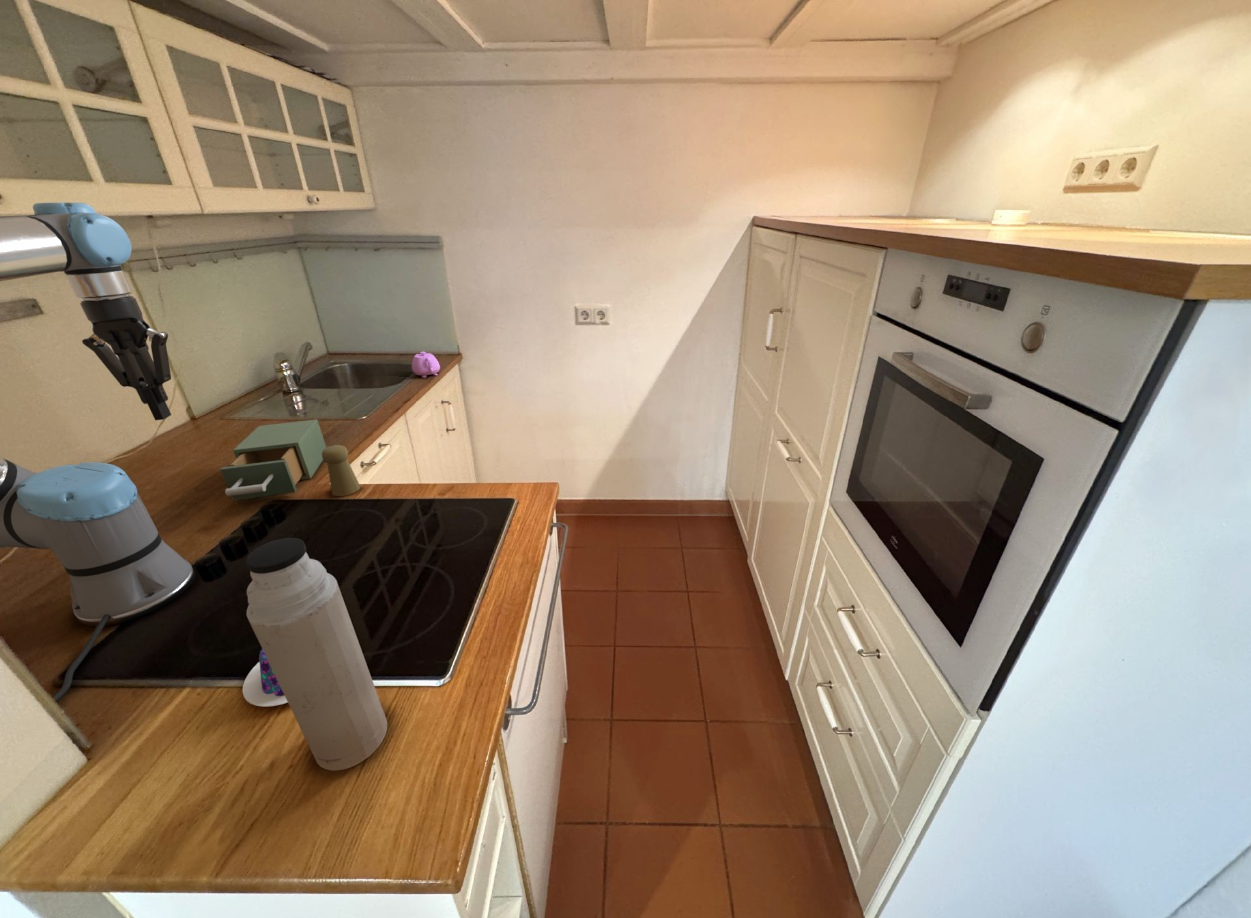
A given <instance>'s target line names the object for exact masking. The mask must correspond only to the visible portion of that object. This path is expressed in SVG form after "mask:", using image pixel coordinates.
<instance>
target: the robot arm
mask: <svg viewBox="0 0 1251 918" xmlns="http://www.w3.org/2000/svg"><path fill="white" fill-rule="evenodd" d="M32 210H33V212H34V214H21V215H20V214H19V215H0V282H5V281H10V280H12V281H13V280H16V279H17V280H18V279H23V278H30V277H35V276H41V275H47V274H54V273H59V272H61V273H64V274H65V277H66V278H67V281H68V283H69V285H70V287H71V289H72V291H73V293H74V295H75V297H76V298H78V299H82V300H81V301H80V302H79V305H80V306H81V309H82V311H83V313H84V315H85V317H86V319H87V321H89V322H90V323H91V324H92V334H91V335H90V336H89V337H87V338H84V339H82V340H81V342H82V344H83V345H84V346H86V347H87V348H88V349H89V350H91V351H92V352H93V353H94V354H95V355H96V357H97V358H98V359H99V360H100V362H101V363H102V364H103V365H104V366H105V367H106V369H107V370H108V371H109V373H110V374H111V375H112V377H113V378H114V379H115V381H116V382H118V384H119V385H120V386H121V387H122V388H126V387H128V388H133V389H135V391H136V393H137V395H138V397H139V399H140V401H141V403H142V404H143V405H147V406H148V408H149V410H150V412H151V415H152V417H153V418H154V421H162V420H163V421H164V420H166V419H167V418H169V417H171V416H172V413H171V411H170V408H169V407H168V404H167V401H168V400H169V397H168V395H167V392H166V390H165V388H164V385H163V384H165V383H167V382H169V381H171V380H172V374H171V368H170V360H169V356H168V348H167V341H168V338H169V334H168V333H167V332H166V331H161V332H160V331H158V330H155V329H153V328H151V326H150V325H149V324H148V323H147V322H146V321H145V320H144V317H143V316H144V315H143V312H142V310H141V307H140V305H139V303H138V301H137V298H136V297H134V296H132V295H131V294H132V293H133V290H132V288H131V286H130V284H129V281H128V279H127V276H126V274H125V272H124V270H123V268H122V266H121V265H123V264H125V263H126V262H127V261H128V260H129V259H130V258H131V255H132V249H133V248H132V243H131V240H130V238H129V237H130V236H128V234H127V232H126V230H124V228H123V227H122V226H121V225H120V224H119V223H118V222H117V221H115V220H113V219H112V218H110V217H108V216H106V215H104V214H100V213H97V211H96V210H95V208H93V206H91V205H89V204H87V203H85V202H37V203H34V204H33V205H32ZM147 340H148V341H149V342H150V347H149V345H148V343H147ZM149 350H150V351H151V353H150V352H149ZM151 355H152V356H151ZM0 548H22V549H23V548H24V549H38V550H51V551H52V552H53V553H54V555H55V557H56V558H57V560H58V561H59V562H60V564H61V566H62V567H63V569H64V570H65V571H66V573H67V575H68V576H69V582H70V583H69V584H70V595H71V603H72V604H71V607H72V611H73V614H74V616H75V617H76V619H77V620H78V622H79V623H81V624H82V625H84V626H88V627H95V629H94V631H93V632H92V633H91V635H90V637H89V638H88V640H87V642H86V644H85V645H84V647H83V648H82V650H81V652H80V653H79V654H78V656H77V657H76V658H75V659H74V661H73V662H72V663H71V664H70V666H69V667H68V669H67V671H66V673H65V675H64V679H63V684H62V686H61V688H60V689H59V690H58V691H57V692H56V693H55V694H54V695H53V696H52V697H53V698H55V700H56V702H55V703H57V702H58V701H59V700H61V698H63V697H64V695H66V693H67V692H68V691H69V689H70V688H71V686H72V683H73V679H74V678H73V677H74V674H75V672H76V670H77V668H78V667H79V666H80V665H81V663H82V662H83V661H84V660H85V658H86V657H87V655H88V654H89V653H90V651H91V650H92V647H93V646H94V644H95V643H96V641H97V639H98V637H99V636H100V635H101V632H102V631H103V629H104V627H108V626H113V625H118V624H122V623H125V622H130V621H133V620H135V619H139V618H141V617H143V616H146V615H148V614H150V613H153V612H154V611H158V610H159V609H160V608H163V607H164V606H166V605H168V604H169V603H171V602H172V601H174V600H176V599H177V598H179V597H180V596H181V595H182V594H183V593H185V592H186V591H187V590H188V589H189V588H190V587H191V585H192V584H193V582H194V581H195V579H196V572H195V570H194V568H193V566H192V564H191V563H190V562H189V561H188V560H187V559H186V558H184V557H182V556H181V555H180V554H179V553H178V552H176V550H174V549H173V548H172V547H171V546H170V545H168V544H167V543H166V542H165V541H164V540H163V538H162V537H161V535H160V532H159V531H158V529H157V527H156V524H155V523H154V522H153V519H152V518H151V516H150V514H149V512H148V510H147V508H146V506H145V504H144V502H143V500H142V499H141V496H140V495H139V492H138V488H137V486H136V484H134V482H133V481H132V479H131V478H130V477H129V475H128V474H127V473H126V472H125V470H123V469H122V468H121V467H119V466H117V465H115V464H112V463H107V462H97V461H94V462H93V461H91V462H89V461H88V462H80V463H77V464H72V463H70V464H63V465H59V466H55V467H51V468H48V469H45V470H41V471H39V472H34V471H32V470H29V469H27V468H25V467H23V466H22V465H19V464H17V463H15V462H12V461H11V460H8V459H6V458H5V457H1V456H0Z"/></svg>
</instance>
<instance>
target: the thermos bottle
mask: <svg viewBox="0 0 1251 918" xmlns="http://www.w3.org/2000/svg"><path fill="white" fill-rule="evenodd" d="M245 566H246V568H247V570H248V571H250V573H249V574H250V578H251V580H252V581H251V582H250V583H249V584H248V586H247V589H246V596H247V604H248V606H247V609H246V617H247V620H248V623H249V624H250V626H251V628H252V631H253V632H254V634H255V637H256V638H257V640H258V643H259V645H260V646H261V650H262V649H263V651H264V653H265V655H266V657H267V659H268V662H269V664H270V666H271V668H272V670H273V672H274V674H275V676H276V678H277V681H278V683H279V685H280V687H281V689H282V691H283V693H284V695H285V697H286V699H287V701H288V706H289V708H290V710H291V712H292V714H293V717H294V718H295V720H296V722H297V724H298V726H299V728H300V731H301V732H302V735H303V737H304V739H305V741H306V743H307V745H308V747H309V749H310V751H311V754H312V755H313V759H314V760H315V762H316V764H317V765H318V766H319V767H320V768H323V769H324V770H326V771H332V772H335V771H337V772H338V771H343V770H347V769H350V768H352V767H355V766H357V765H358V764H361V763H362V762H364V761H365V760H366V759H368V758H369V757H370V756H371V755H373V754H374V753H375V751H376V750H377V749H379V748H380V745H381V744H382V743H383V741H384V739H385V737H386V734H387V730H388V721H387V717H386V714H385V712H384V709H383V707H382V704H381V701H380V698H379V695H378V692H377V689H376V687H375V684H374V681H373V679H372V676H371V673H370V669H369V668H368V665H367V661H366V659H365V656H364V654H363V650H362V648H361V645H360V643H359V639H358V637H357V634H356V631H355V629H354V626H353V623H352V620H351V617H350V614H349V612H348V609H347V606H346V603H345V601H344V597H343V596H342V592H341V589H340V586H339V583H338V581H337V579H336V577H334V576H333V575H332V574H331V573H328V572H327V569H326V568H325V566H323V564H322V563H321V561H319V560H316V559H314V558H310V557H309V554H308V553H307V546H306V543H305V542H304V540H302V539H301V538H298V537H285V538H280V539H275V540H271V541H269V542H267V543H264V544H262V545H261V546H260V545H259V547H257V548H255V549H254V550H252V551H251V552H250V553H249V554H248V555H247V557H246V558H245Z"/></svg>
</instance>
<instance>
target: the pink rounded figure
mask: <svg viewBox="0 0 1251 918" xmlns="http://www.w3.org/2000/svg"><path fill="white" fill-rule="evenodd" d="M440 369H441V366H440V363H439V360H438V359H437V358H436V357H435V356H434V354H433V353H430V352H426V351H420V352H419V354H418V353H416V354H415V355H414V356H413V359H412V362H411V370H412V372H413V374H415V375H416V376H421V378H422V379H423V378H427V376H428V375H431V376H438V372H439V371H440Z"/></svg>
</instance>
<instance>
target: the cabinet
mask: <svg viewBox="0 0 1251 918" xmlns="http://www.w3.org/2000/svg"><path fill="white" fill-rule="evenodd" d="M293 446H295V447H296V450H297V453H298V455H299V458H300V461H301V464H302V467H303V470H304V474H303V475H302V476H301V478H300V479H299V481H302V480H310V479H312V477H313V476H314V474H315V473H316V472H317V470H318V468H319V466H321V464H322V462H323V461H324V460H323V458H322V452H323V450H324V449H325V448H327V445H326V442H325V439H324V436H323V432H322V429H321V426H320V424H319V420H318V419H310V420H308V419H307V420H299V421H291V422H289V421H288V422H281V423H273V424H272V423H271V424H263V425H259V426H257V427H256V428H255V429H254V430H253V431H251V432H250V434H249V435H248V436H247V437H245V438H244V439H243V440H242V441H241V442H240V443H239V444H238V445H237V446H236V447H234V448H233V450H232V452H233V454H234V457H235V460H236V459H237V458H238V457H239V456H240V455H241V454H242V453H243V452H250V451H259V450H267V449H276V448H284V447H293Z"/></svg>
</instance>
